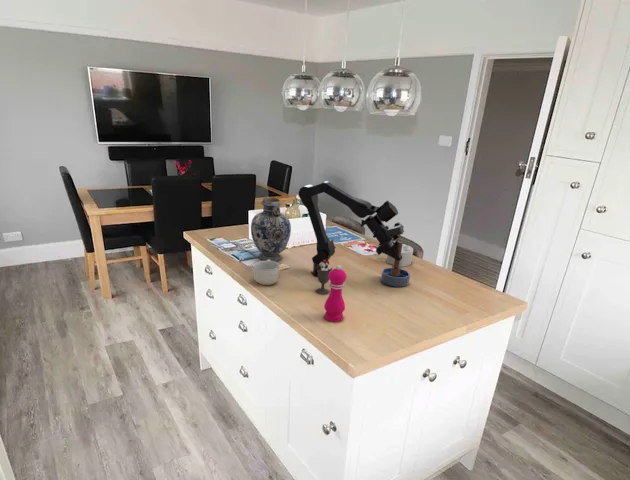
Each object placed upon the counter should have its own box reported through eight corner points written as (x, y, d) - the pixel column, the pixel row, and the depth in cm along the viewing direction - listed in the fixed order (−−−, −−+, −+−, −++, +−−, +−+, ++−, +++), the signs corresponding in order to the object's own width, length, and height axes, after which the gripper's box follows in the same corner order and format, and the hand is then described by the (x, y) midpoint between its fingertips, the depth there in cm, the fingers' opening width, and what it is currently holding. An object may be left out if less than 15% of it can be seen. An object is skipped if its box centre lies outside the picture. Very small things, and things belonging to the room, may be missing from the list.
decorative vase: (295, 263, 196) (298, 204, 185) (257, 266, 189) (257, 205, 178) (282, 249, 214) (283, 194, 202) (246, 251, 207) (246, 194, 195)
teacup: (274, 289, 168) (274, 270, 164) (248, 285, 169) (248, 266, 166) (284, 277, 180) (284, 259, 177) (260, 273, 182) (260, 256, 179)
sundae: (332, 290, 171) (335, 255, 165) (327, 296, 165) (330, 260, 159) (317, 287, 173) (319, 252, 166) (311, 292, 167) (314, 257, 161)
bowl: (388, 288, 177) (389, 278, 175) (376, 277, 187) (377, 268, 185) (413, 286, 180) (415, 277, 179) (400, 276, 191) (402, 267, 189)
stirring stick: (395, 276, 171) (400, 243, 165) (389, 273, 174) (393, 241, 168) (401, 274, 174) (406, 242, 168) (394, 272, 176) (399, 240, 170)
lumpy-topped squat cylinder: (383, 261, 208) (385, 244, 205) (400, 257, 216) (402, 241, 213) (399, 267, 201) (402, 250, 198) (416, 263, 209) (419, 246, 206)
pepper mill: (322, 313, 151) (326, 261, 143) (342, 313, 152) (347, 261, 144) (324, 322, 145) (328, 268, 136) (345, 322, 145) (350, 269, 137)
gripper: (388, 222, 157) (412, 255, 158) (398, 212, 173) (420, 243, 174) (365, 238, 163) (389, 270, 164) (378, 228, 179) (399, 257, 180)
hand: (400, 259), depth 170 cm, fingers closed on stirring stick, 2 cm apart
